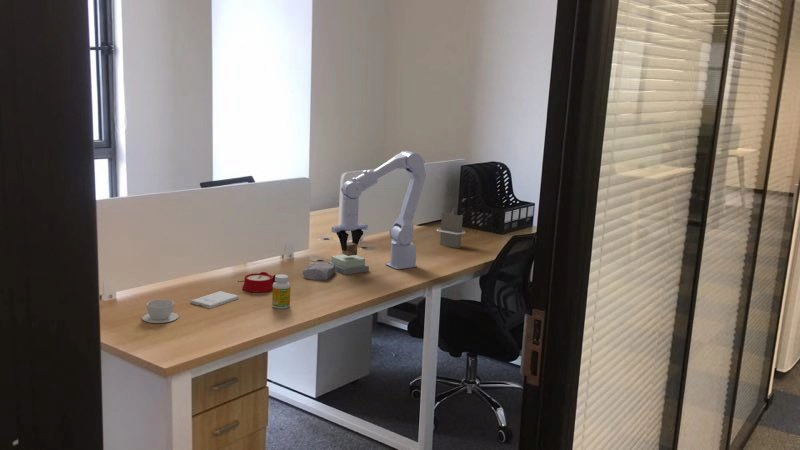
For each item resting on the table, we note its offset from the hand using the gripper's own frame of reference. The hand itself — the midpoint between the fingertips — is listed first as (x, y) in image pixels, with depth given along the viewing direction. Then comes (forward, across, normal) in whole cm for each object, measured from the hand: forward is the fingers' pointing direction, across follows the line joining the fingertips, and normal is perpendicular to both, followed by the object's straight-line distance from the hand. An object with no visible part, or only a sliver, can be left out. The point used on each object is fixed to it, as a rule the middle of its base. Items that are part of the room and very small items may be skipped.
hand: (349, 249), depth 270 cm
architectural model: (+8, +61, +13) cm, 63 cm away
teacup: (+8, -77, -22) cm, 81 cm away
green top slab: (+6, 0, 0) cm, 6 cm away
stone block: (+8, -14, -2) cm, 16 cm away
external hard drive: (+8, -58, -14) cm, 60 cm away
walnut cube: (+2, 0, 0) cm, 2 cm away
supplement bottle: (+8, -42, -28) cm, 51 cm away
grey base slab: (+8, 0, 0) cm, 8 cm away
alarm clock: (+8, -38, -7) cm, 40 cm away
